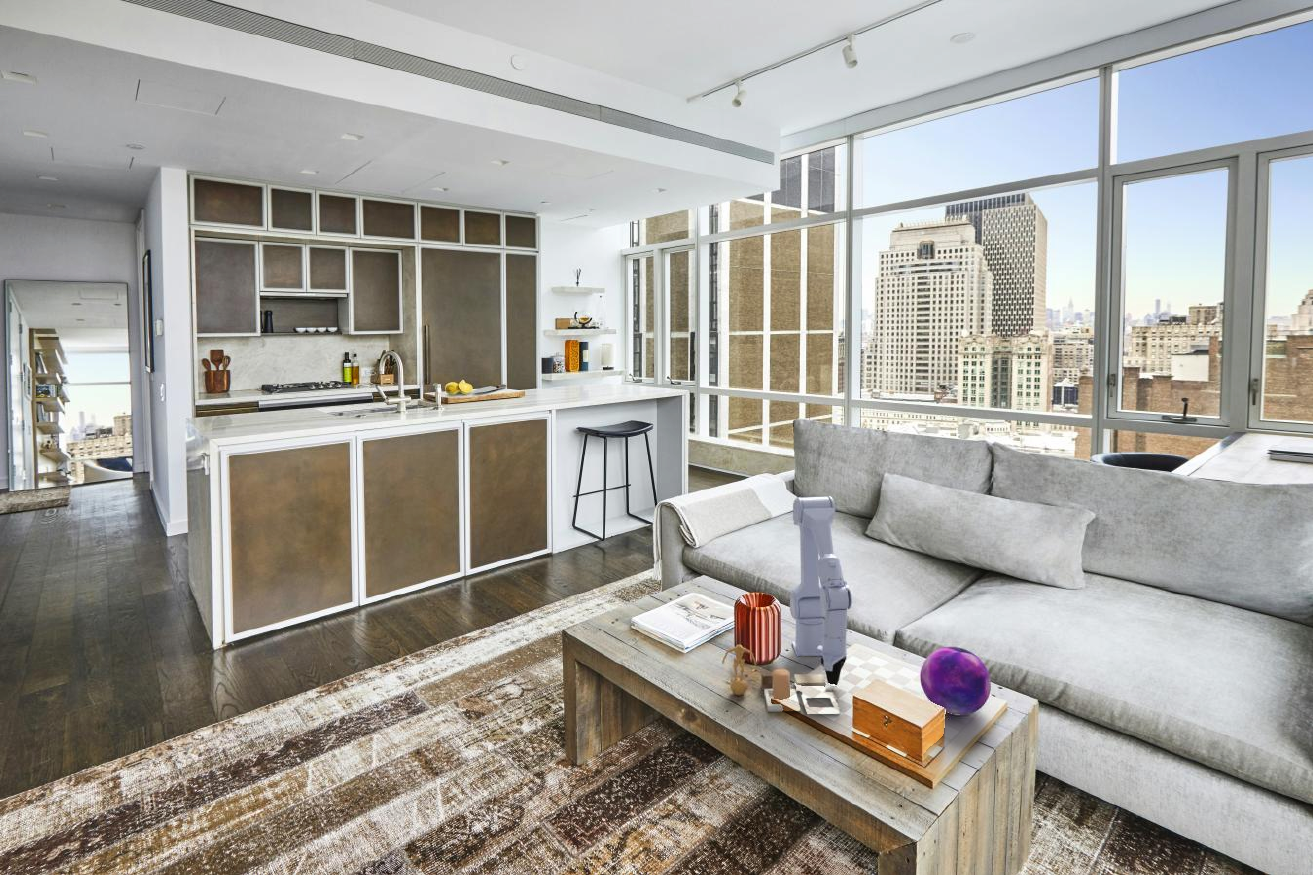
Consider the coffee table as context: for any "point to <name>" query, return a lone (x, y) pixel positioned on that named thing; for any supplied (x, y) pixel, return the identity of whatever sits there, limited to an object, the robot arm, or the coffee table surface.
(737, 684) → the figurine
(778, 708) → the tray
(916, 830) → the coffee table surface
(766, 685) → the brown rectangular block
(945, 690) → the decorative orb
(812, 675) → the cream rectangular block
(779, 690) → the dowel
